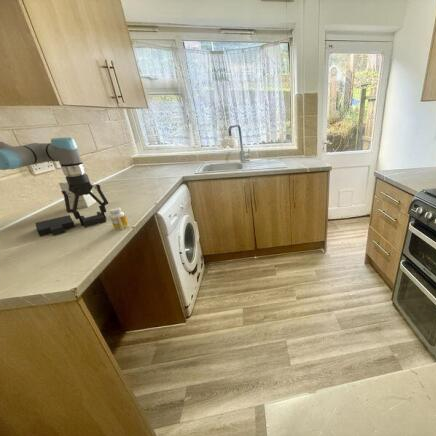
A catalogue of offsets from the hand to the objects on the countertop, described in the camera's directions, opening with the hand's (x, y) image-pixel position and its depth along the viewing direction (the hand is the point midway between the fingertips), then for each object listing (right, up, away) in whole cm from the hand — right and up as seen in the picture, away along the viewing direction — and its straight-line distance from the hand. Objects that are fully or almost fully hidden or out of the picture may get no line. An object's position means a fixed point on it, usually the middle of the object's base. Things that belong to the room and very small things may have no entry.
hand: (93, 221), depth 116 cm
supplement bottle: (+19, -3, -7) cm, 20 cm away
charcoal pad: (-12, -3, -6) cm, 14 cm away
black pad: (0, 0, 0) cm, 0 cm away
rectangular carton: (-24, +9, +22) cm, 34 cm away
